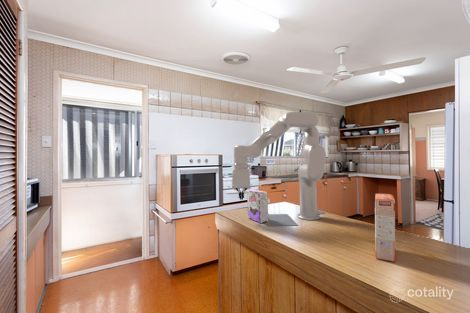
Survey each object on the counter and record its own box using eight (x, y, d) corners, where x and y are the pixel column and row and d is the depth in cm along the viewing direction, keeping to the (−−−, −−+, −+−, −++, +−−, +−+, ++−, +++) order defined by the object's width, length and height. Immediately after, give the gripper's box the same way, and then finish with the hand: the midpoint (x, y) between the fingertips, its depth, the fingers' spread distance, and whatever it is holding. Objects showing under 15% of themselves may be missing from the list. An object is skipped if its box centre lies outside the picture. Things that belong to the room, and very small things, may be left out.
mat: (287, 214, 144) (287, 214, 144) (298, 225, 120) (298, 225, 120) (261, 214, 143) (261, 214, 143) (267, 226, 119) (267, 225, 119)
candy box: (247, 218, 136) (246, 190, 137) (256, 216, 139) (255, 189, 139) (259, 223, 124) (258, 192, 124) (269, 221, 126) (267, 191, 126)
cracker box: (396, 263, 76) (395, 199, 76) (375, 259, 79) (374, 198, 79) (394, 248, 88) (393, 193, 88) (375, 245, 91) (374, 192, 91)
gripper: (253, 166, 135) (253, 198, 135) (227, 167, 135) (228, 198, 135) (254, 167, 128) (255, 200, 128) (227, 167, 128) (228, 200, 128)
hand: (241, 199), depth 131 cm, fingers closed
